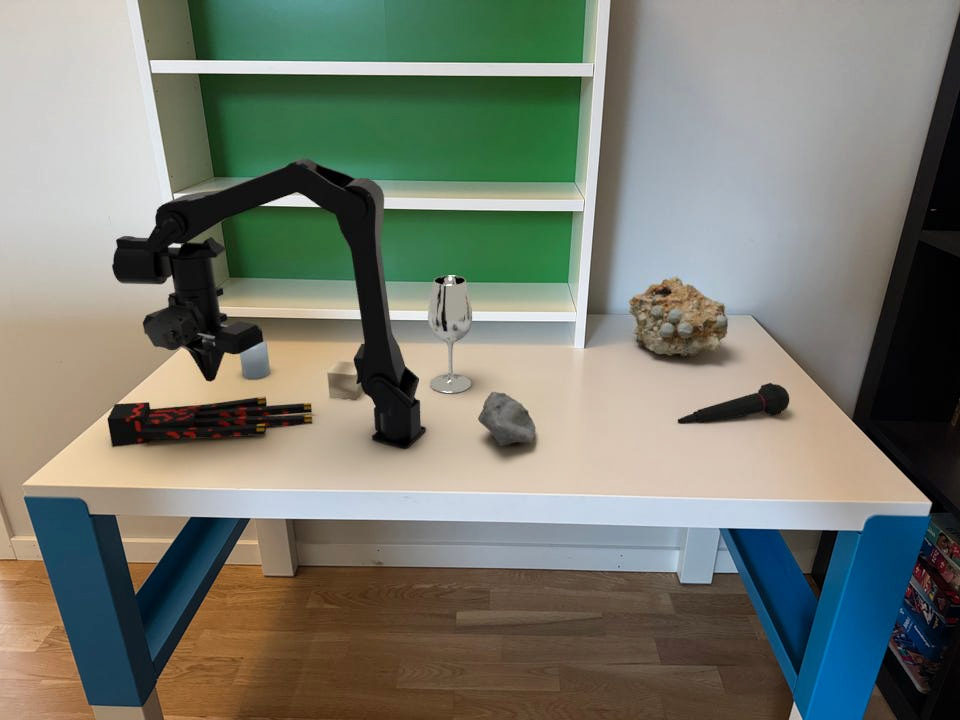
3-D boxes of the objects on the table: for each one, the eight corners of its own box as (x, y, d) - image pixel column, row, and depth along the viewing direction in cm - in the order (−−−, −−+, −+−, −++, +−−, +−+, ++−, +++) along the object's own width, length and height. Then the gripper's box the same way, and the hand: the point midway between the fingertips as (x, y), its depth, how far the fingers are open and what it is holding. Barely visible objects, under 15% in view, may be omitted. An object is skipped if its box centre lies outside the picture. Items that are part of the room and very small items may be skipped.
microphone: (683, 444, 114) (790, 418, 118) (689, 421, 111) (800, 395, 114) (668, 420, 118) (772, 396, 122) (673, 397, 114) (781, 373, 118)
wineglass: (478, 380, 129) (479, 277, 120) (460, 397, 122) (460, 289, 114) (441, 372, 132) (440, 271, 123) (421, 388, 125) (418, 283, 117)
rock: (622, 336, 152) (623, 270, 147) (710, 332, 151) (715, 265, 145) (636, 370, 135) (638, 297, 129) (736, 366, 134) (742, 292, 128)
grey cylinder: (275, 371, 131) (272, 342, 129) (257, 381, 127) (253, 351, 125) (255, 366, 133) (252, 337, 131) (236, 376, 129) (232, 346, 127)
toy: (311, 417, 119) (120, 428, 111) (310, 391, 117) (116, 400, 109) (313, 441, 111) (108, 455, 104) (312, 414, 109) (103, 426, 102)
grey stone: (535, 461, 103) (537, 414, 100) (475, 458, 104) (475, 411, 101) (534, 424, 114) (536, 381, 110) (480, 422, 114) (480, 378, 111)
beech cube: (365, 388, 125) (364, 363, 123) (356, 400, 121) (355, 375, 119) (339, 385, 126) (337, 361, 124) (329, 398, 122) (327, 372, 119)
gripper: (102, 291, 98) (124, 389, 104) (201, 311, 91) (218, 415, 97) (164, 270, 107) (181, 362, 113) (259, 287, 100) (271, 384, 106)
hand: (210, 380), depth 107 cm, fingers closed
